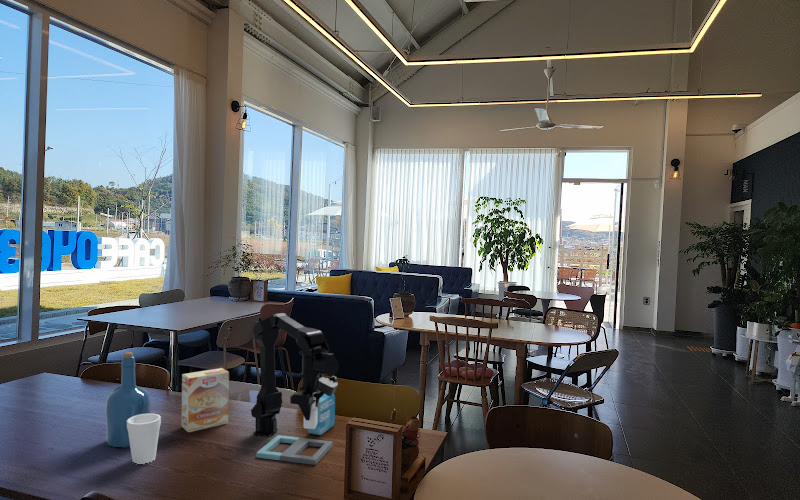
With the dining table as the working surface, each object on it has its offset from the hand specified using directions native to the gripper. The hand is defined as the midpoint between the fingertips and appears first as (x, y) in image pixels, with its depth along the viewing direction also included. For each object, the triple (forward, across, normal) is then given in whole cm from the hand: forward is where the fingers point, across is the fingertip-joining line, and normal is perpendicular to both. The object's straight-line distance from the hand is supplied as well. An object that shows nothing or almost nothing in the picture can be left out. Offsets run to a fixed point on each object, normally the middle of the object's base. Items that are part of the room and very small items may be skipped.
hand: (310, 417), depth 174 cm
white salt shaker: (+3, 0, 0) cm, 3 cm away
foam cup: (+12, -19, +47) cm, 52 cm away
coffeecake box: (+12, +12, +46) cm, 49 cm away
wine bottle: (+12, -8, +62) cm, 64 cm away
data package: (+12, +20, +4) cm, 24 cm away
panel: (+12, 0, +5) cm, 13 cm away
